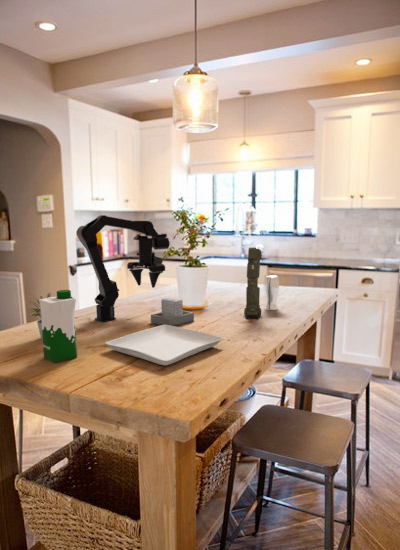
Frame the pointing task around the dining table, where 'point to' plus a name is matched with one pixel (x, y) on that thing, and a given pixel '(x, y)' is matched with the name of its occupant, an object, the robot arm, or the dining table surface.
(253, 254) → the mechanical leg
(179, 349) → the square plate
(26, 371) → the dining table surface
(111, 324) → the dining table surface
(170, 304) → the medicine box
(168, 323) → the bin
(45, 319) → the milk carton
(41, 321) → the house plant
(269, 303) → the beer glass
